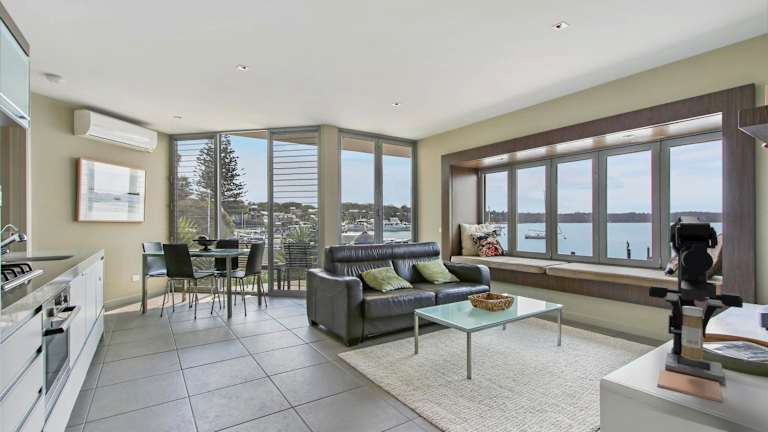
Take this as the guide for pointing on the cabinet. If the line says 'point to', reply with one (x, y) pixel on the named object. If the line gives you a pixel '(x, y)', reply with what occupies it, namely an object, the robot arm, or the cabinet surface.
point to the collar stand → (713, 367)
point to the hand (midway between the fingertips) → (692, 327)
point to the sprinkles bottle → (692, 333)
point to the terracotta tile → (690, 385)
